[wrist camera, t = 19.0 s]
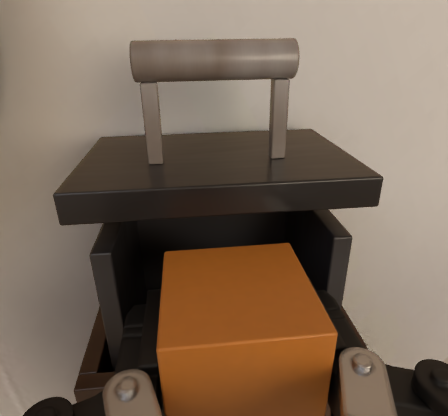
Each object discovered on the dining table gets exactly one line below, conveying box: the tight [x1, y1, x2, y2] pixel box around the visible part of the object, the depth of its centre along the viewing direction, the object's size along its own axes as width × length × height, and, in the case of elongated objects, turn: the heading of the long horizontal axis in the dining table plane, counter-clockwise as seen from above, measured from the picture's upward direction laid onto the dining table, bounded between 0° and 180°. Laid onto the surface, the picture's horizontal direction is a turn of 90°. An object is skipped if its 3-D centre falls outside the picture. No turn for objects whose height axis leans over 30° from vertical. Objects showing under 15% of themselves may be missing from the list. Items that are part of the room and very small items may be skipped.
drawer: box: [53, 38, 383, 372], centre depth 17 cm, size 17×11×8 cm
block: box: [156, 243, 338, 416], centre depth 12 cm, size 5×5×5 cm
